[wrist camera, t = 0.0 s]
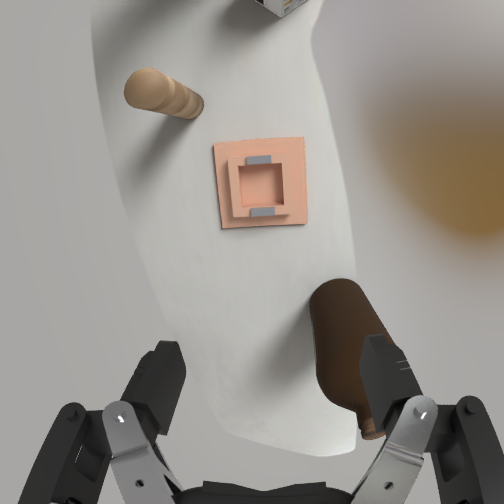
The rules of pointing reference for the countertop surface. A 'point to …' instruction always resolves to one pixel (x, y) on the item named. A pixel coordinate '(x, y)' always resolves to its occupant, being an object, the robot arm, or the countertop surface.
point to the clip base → (262, 182)
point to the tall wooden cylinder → (161, 94)
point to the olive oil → (344, 346)
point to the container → (280, 6)
